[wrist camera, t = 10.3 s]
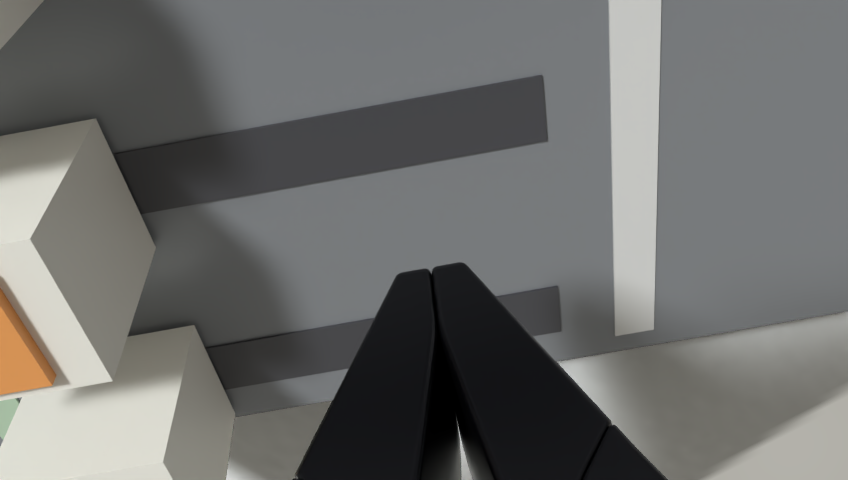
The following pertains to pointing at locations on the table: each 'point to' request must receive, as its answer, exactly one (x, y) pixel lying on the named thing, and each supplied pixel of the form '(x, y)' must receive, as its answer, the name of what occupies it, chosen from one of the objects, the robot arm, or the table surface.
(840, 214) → the panel
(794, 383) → the table surface
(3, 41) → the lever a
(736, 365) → the table surface
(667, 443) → the table surface
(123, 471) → the plain ivory cube
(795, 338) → the table surface
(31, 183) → the orange patched ivory cube
